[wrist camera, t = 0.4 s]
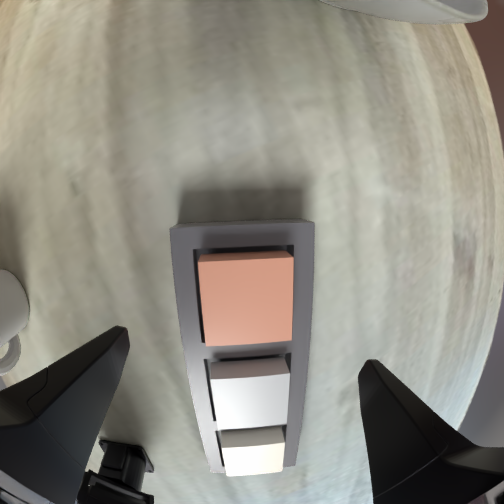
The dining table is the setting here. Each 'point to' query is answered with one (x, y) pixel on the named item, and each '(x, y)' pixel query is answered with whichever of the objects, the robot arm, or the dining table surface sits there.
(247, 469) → the cream key
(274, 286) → the terracotta key
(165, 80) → the dining table surface
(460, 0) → the decorative bowl
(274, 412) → the grey key
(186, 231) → the frame
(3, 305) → the cup
